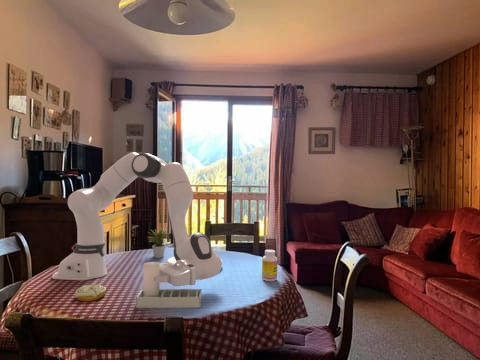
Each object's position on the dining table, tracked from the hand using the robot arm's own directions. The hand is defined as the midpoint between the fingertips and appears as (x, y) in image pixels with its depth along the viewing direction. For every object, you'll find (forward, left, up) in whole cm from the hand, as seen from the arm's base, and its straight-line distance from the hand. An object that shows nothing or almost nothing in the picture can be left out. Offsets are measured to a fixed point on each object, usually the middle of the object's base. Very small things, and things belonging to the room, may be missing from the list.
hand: (149, 277), depth 130 cm
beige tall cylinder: (+1, +1, -8) cm, 8 cm away
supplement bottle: (+47, +30, -10) cm, 57 cm away
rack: (+7, +1, -9) cm, 12 cm away
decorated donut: (-23, +8, -10) cm, 26 cm away
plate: (+13, +50, -10) cm, 52 cm away
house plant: (-9, +76, -10) cm, 77 cm away
